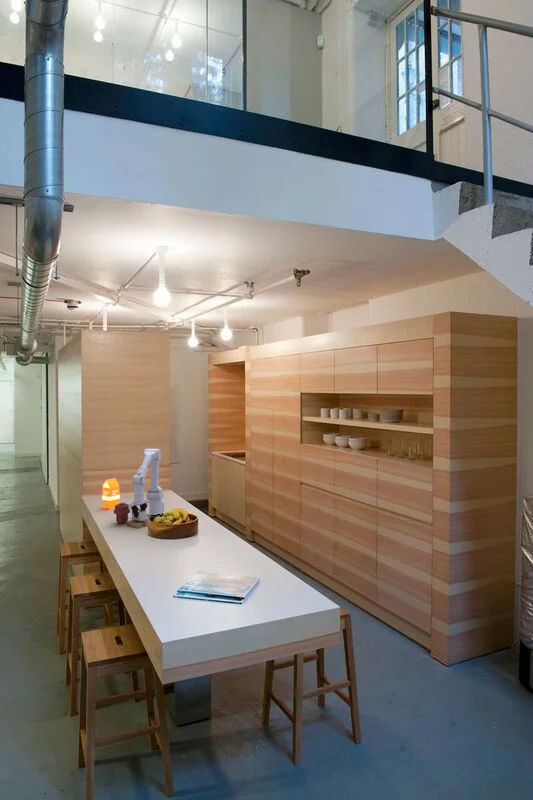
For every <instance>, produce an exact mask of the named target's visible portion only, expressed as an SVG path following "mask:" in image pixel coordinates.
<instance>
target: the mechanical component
mask: <svg viewBox="0 0 533 800" xmlns="http://www.w3.org/2000/svg"><path fill="white" fill-rule="evenodd" d="M128 504H129V503H125V502H120V503H119V504H116V505H115V508H114V509H113V514H114V515H115V521H116V524H117V525H123V524H122V523H126V521H129V513H131V508H130V507H128Z"/></svg>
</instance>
